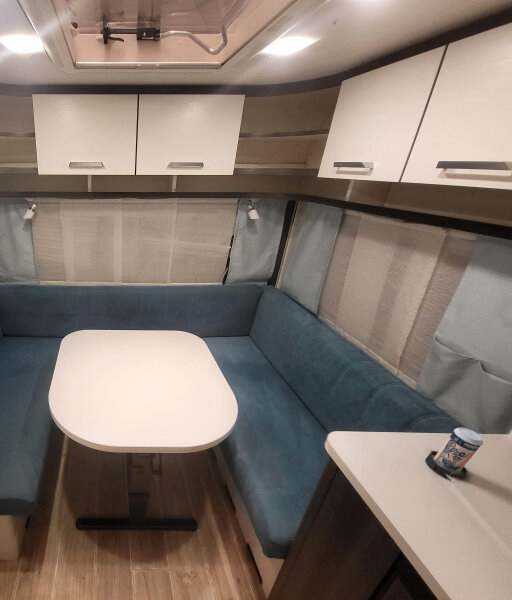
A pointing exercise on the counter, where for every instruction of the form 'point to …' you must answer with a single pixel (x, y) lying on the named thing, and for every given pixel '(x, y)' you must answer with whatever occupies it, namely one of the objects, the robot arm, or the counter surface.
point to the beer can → (458, 449)
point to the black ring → (441, 470)
